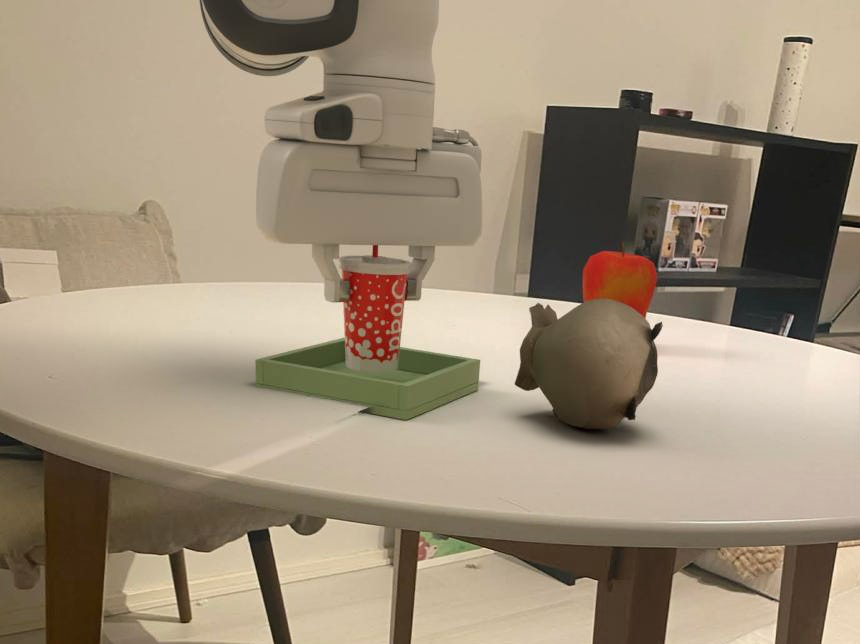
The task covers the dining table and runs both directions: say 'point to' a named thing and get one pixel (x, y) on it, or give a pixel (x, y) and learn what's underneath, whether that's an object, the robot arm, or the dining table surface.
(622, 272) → the apple
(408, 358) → the drinks tray
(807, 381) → the dining table surface
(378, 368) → the beverage cup
